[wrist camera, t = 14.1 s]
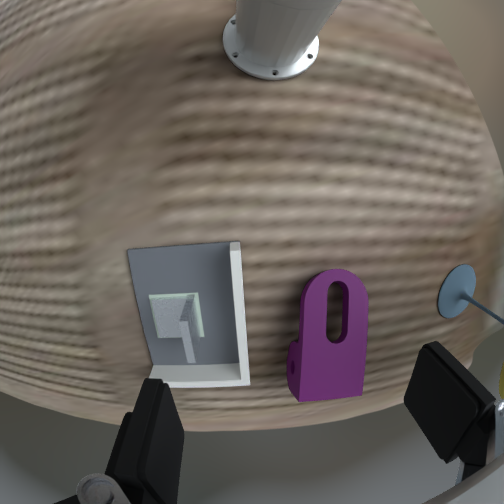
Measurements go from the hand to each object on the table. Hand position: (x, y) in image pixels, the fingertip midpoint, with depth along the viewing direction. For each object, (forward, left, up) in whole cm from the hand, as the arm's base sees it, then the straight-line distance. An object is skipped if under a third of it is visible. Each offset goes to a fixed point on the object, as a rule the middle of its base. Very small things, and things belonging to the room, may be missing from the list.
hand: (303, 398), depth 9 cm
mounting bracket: (+14, +10, -29) cm, 34 cm away
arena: (+11, -9, -28) cm, 32 cm away
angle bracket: (+11, -11, -28) cm, 32 cm away
